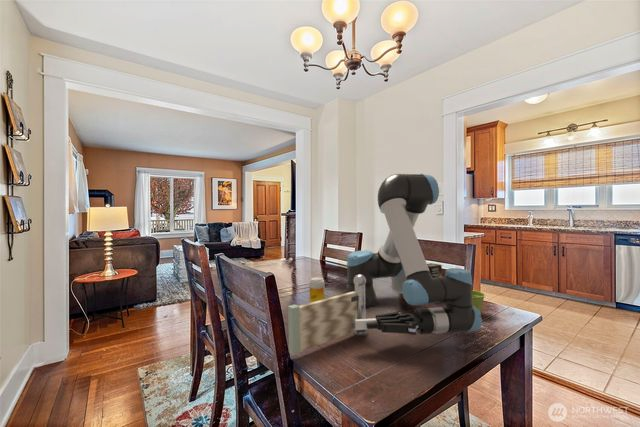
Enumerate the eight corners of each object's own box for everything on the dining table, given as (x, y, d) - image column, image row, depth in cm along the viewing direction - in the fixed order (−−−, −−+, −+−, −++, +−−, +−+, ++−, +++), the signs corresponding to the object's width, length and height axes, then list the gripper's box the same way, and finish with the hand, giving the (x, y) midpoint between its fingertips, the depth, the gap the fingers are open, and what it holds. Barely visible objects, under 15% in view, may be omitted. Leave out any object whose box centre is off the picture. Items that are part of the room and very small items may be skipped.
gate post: (352, 330, 102) (351, 273, 102) (365, 329, 102) (364, 272, 102) (355, 336, 97) (354, 276, 97) (368, 335, 98) (368, 275, 97)
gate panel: (354, 327, 100) (353, 289, 99) (359, 329, 98) (358, 290, 97) (288, 352, 84) (287, 306, 83) (293, 355, 82) (292, 308, 81)
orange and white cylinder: (309, 312, 120) (309, 277, 120) (324, 311, 121) (323, 276, 121) (310, 318, 114) (309, 280, 114) (325, 317, 115) (324, 280, 114)
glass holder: (398, 294, 143) (397, 264, 142) (381, 287, 156) (381, 260, 155) (412, 292, 146) (411, 263, 146) (394, 285, 159) (394, 258, 159)
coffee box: (428, 301, 131) (428, 266, 130) (418, 298, 137) (417, 264, 136) (442, 298, 135) (442, 264, 135) (431, 295, 141) (431, 262, 140)
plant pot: (489, 319, 109) (489, 297, 109) (462, 318, 111) (462, 296, 111) (480, 311, 118) (480, 290, 118) (456, 309, 120) (456, 289, 120)
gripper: (440, 342, 83) (360, 347, 81) (420, 324, 96) (351, 327, 94) (439, 316, 83) (359, 320, 81) (420, 301, 96) (351, 305, 94)
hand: (355, 324), depth 87 cm, fingers closed
